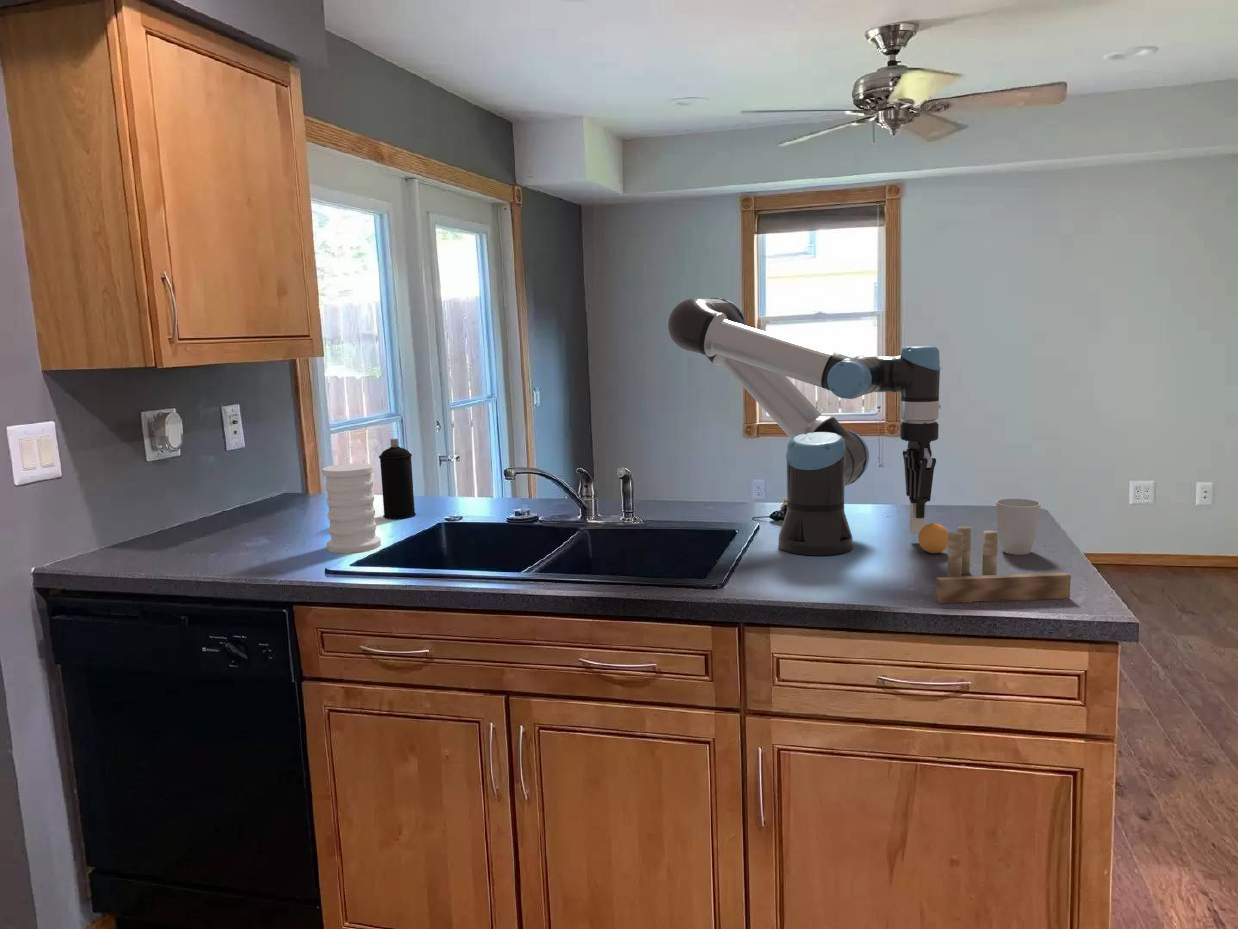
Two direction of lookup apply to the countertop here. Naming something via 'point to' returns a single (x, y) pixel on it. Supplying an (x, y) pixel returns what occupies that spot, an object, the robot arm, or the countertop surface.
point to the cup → (1017, 524)
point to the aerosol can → (397, 482)
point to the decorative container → (350, 508)
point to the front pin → (965, 548)
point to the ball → (933, 538)
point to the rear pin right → (954, 554)
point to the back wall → (1003, 587)
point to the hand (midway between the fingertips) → (917, 532)
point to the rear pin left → (990, 553)
